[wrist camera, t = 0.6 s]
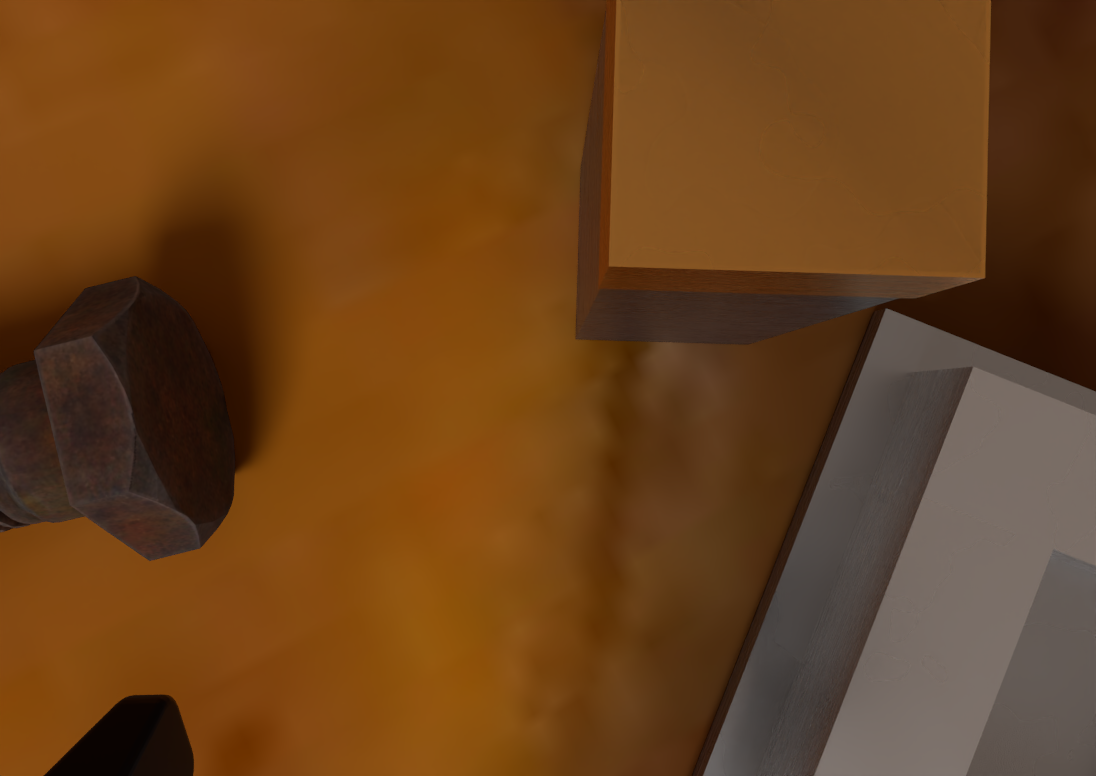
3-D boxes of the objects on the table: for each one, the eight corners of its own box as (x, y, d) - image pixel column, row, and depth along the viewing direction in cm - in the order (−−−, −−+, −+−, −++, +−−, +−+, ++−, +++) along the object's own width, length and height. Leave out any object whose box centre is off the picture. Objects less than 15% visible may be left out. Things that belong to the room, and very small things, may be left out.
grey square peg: (750, 346, 23) (985, 277, 11) (573, 341, 23) (608, 266, 11) (754, 170, 23) (992, -95, 11) (578, 165, 23) (619, -107, 11)
